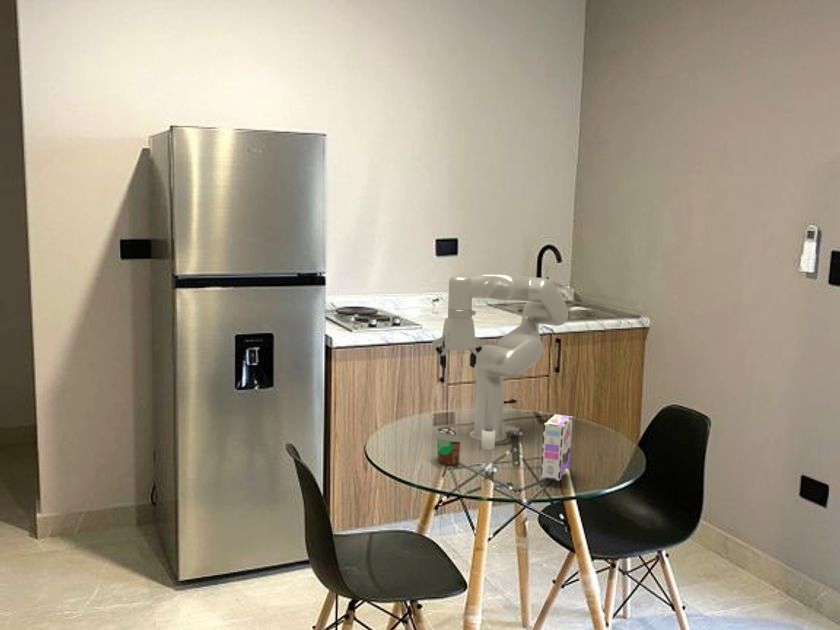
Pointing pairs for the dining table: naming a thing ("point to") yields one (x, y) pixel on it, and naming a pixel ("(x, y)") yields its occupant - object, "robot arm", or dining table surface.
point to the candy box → (556, 446)
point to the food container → (448, 446)
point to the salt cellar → (488, 438)
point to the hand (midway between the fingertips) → (457, 367)
